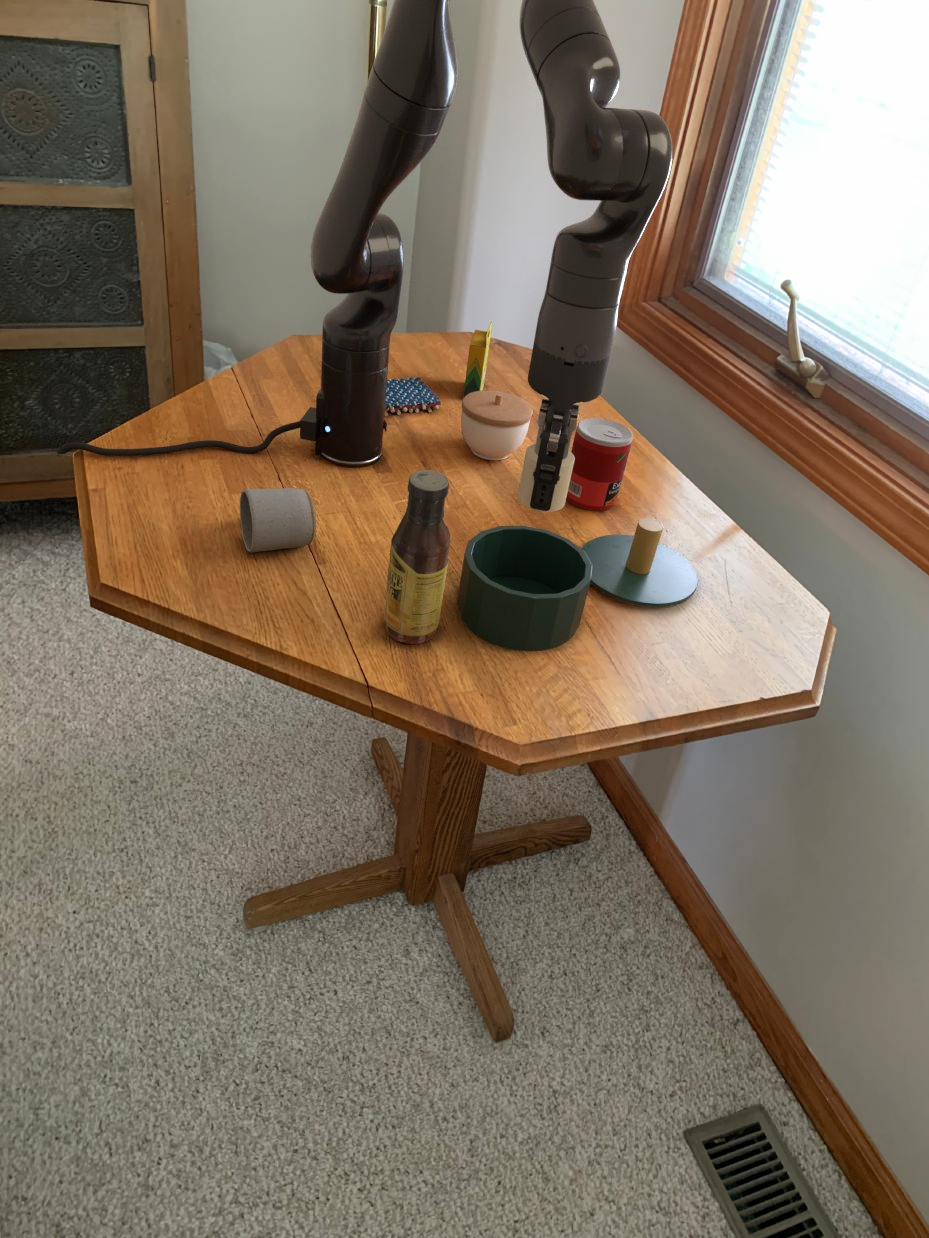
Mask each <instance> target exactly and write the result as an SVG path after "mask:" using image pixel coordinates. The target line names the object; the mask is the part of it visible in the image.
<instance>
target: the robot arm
mask: <svg viewBox="0 0 929 1238" xmlns="http://www.w3.org/2000/svg"><path fill="white" fill-rule="evenodd" d="M601 17H602V16H601V15H600V13H599V11H598V8H597V5H596V3H595V1H594V0H521V5H520V11H519V34H520V40H521V44H522V49H523V52H524V55H525V58H526V60H527V62H528V65H529V68H530V71H531V73H532V76H533V78H534V81H535V83H536V85H537V89H538V90H539V93H540V95H541V98H542V105H543V116H544V117H543V118H544V125H545V126H544V127H545V136H546V137H545V138H546V156H547V158H546V159H547V165H548V166H547V167H548V171H549V173H550V176H551V178H552V180H553V182H554V183H555V185H556V186H557V187H558V189H559V190H560V191H561V192H562V193H563V194H565V195H566V196H567V197H569V198H571V199H573V200H578V201H591V202H592V201H593V202H594V201H600V202H599V203H598V205H597V207H596V209H595V210H594V212H593V214H592V215H591V216H589V217H588V218H585V219H583V220H582V221H578V222H575V223H572V224H570V225H566V226H565V227H563V228H562V229H560V231H559V232H558V233H557V235H556V237H555V240H554V243H553V247H552V251H551V258H550V259H551V260H550V265H549V270H548V275H547V281H546V287H545V291H544V295H543V300H542V303H541V305H540V308H539V312H538V317H537V322H536V328H535V333H534V339H533V343H532V344H533V345H532V350H531V351H532V352H531V356H530V362H529V368H528V374H527V382H528V385H529V387H530V388H531V389H532V390H533V391H534V392H535V393H537V394H539V395H541V396H544V397H542V398H541V403H540V407H539V411H538V415H537V416H538V417H537V425H538V429H537V434H536V440H535V443H534V444H535V450H534V451H535V453H536V454H537V455H538V459H537V464H536V469H534V472H533V476H534V486H533V491H532V496H531V501H530V507H531V508H533V509H537V510H542V511H548V510H550V508H551V503H552V498H553V494H554V489H555V484H557V482H558V481H559V480H560V468H561V464H562V460H563V459H566V458H567V456H568V451H570V446H571V441H572V436H573V433H574V432H576V428H577V426H578V420H579V411H580V406H581V404H578V403H588V402H592V401H594V400H596V399H597V398H599V397H600V396H601V394H602V392H603V388H604V383H605V380H606V375H607V370H608V366H609V362H610V358H611V353H612V349H613V345H614V340H615V335H616V331H617V327H618V326H617V325H618V316H619V307H620V302H621V297H622V294H623V290H624V285H625V280H626V276H627V272H628V271H627V270H628V265H629V261H630V259H631V257H632V255H633V252H634V251H635V249H636V246H637V245H638V244H639V241H640V239H641V237H642V235H643V233H644V231H645V229H646V226H647V224H648V223H649V221H650V219H651V217H652V215H653V213H654V211H655V209H656V207H657V205H658V203H659V200H660V199H661V197H662V195H663V192H664V190H665V188H666V185H667V182H668V179H669V176H670V173H671V168H672V164H673V163H672V162H673V140H672V135H671V132H670V128H669V126H668V124H667V122H666V121H665V120H664V118H663V117H662V116H661V115H659V114H658V113H657V112H653V111H651V110H646V109H633V108H632V109H631V108H617V107H607V106H608V105H609V104H610V103H611V102H612V100H614V97H615V96H616V95H617V93H618V90H619V88H620V83H621V67H620V63H619V60H618V56H617V53H616V51H615V48H614V46H613V43H612V41H611V39H610V36H609V34H608V32H607V29H606V27H605V25H604V23H603V20H602V18H601ZM453 24H454V23H453V18H452V11H451V0H393V2H392V5H391V9H390V12H389V16H388V19H387V21H386V25H385V28H384V32H383V35H382V37H381V40H380V43H379V45H378V49H377V52H376V55H375V57H374V59H373V60H374V61H373V63H372V66H371V70H370V72H369V75H368V78H367V79H368V80H367V83H366V86H365V89H364V91H363V92H364V93H363V96H362V100H361V104H360V108H359V111H358V115H357V119H356V122H355V124H354V128H353V130H352V133H351V137H350V140H349V142H348V145H347V148H346V151H345V154H344V157H343V159H342V162H341V164H340V169H339V171H338V173H337V175H336V178H335V181H334V183H333V185H332V187H331V190H330V191H329V194H328V197H327V199H326V201H325V203H324V207H323V208H322V210H321V212H320V215H319V217H318V219H317V223H316V225H315V229H314V231H313V234H312V239H311V244H310V245H311V246H310V264H311V265H310V266H311V270H312V273H313V276H314V278H315V280H316V282H317V284H318V285H319V286H320V287H321V288H322V289H323V290H325V291H326V292H328V293H331V294H336V295H337V294H338V295H346V296H345V298H344V299H343V300H341V302H340V303H339V304H337V305H336V306H334V307H333V308H331V309H330V310H329V311H327V313H326V314H325V315H324V317H323V320H322V331H321V332H322V334H321V335H322V337H321V375H320V376H321V377H320V389H319V390H318V391H317V393H316V396H315V397H316V399H315V407H312V406H309V408H308V409H307V411H306V412H305V413H304V415H302V417H301V418H300V419H299V420H298V421H294V422H290V423H286V424H284V425H281V426H279V427H276V428H274V429H273V430H271V431H270V432H269V433H268V434H267V436H266V437H265V439H264V440H263V441H262V442H261V443H260V444H258V445H255V446H244V445H238V444H236V443H235V444H234V443H231V442H226V441H222V440H216V439H215V440H214V439H212V440H211V439H210V440H207V439H206V440H196V441H190V442H183V443H179V444H173V445H166V446H165V445H164V446H156V447H142V448H140V447H139V448H107V447H99V446H96V445H92V444H90V443H86V442H81V441H72V442H71V441H70V442H67V443H66V444H65V443H64V444H63V445H62V446H60V447H59V448H58V450H57V451H56V454H57V455H65V454H67V453H69V452H70V451H72V450H80V451H83V452H84V451H85V452H88V453H91V454H95V455H99V456H105V457H141V456H155V455H166V454H173V453H179V452H185V451H189V450H190V451H191V450H195V449H204V448H217V449H224V450H228V451H230V452H231V451H232V452H236V453H241V454H258V453H261V452H263V451H265V450H266V449H268V448H269V446H270V445H271V444H272V442H273V440H275V438H276V437H278V436H280V435H282V434H285V433H286V432H289V431H293V430H296V429H299V439H300V440H304V441H308V442H309V441H310V442H314V455H315V456H319V457H322V458H323V459H324V460H325V461H328V462H329V463H332V464H336V465H339V466H343V467H352V468H353V467H354V468H355V467H357V468H358V467H366V466H370V465H372V464H375V463H377V462H378V461H380V460H381V458H382V457H383V444H384V443H383V442H384V439H383V438H384V432H387V429H388V422H387V420H385V401H386V387H387V379H388V373H389V359H390V345H391V344H390V343H391V336H392V335H391V334H392V333H393V330H394V328H395V326H396V323H397V320H398V316H399V307H400V306H399V305H400V299H401V292H402V284H403V276H404V268H405V266H404V265H405V250H404V241H403V238H402V234H401V231H400V229H399V227H398V225H397V223H396V222H395V221H394V220H393V219H392V218H391V216H389V215H387V214H385V213H382V212H380V211H381V208H382V207H383V205H384V204H385V203H386V201H387V199H388V198H389V197H390V196H391V195H392V194H393V193H394V191H395V190H396V189H397V188H398V187H399V186H400V185H401V184H402V183H403V182H404V181H405V180H406V179H407V177H409V176H410V175H411V173H412V172H413V171H414V170H415V169H416V168H417V167H418V166H419V165H420V164H421V162H422V161H424V159H425V158H426V156H427V155H428V154H429V152H430V151H431V150H432V149H433V147H434V145H435V143H436V142H437V140H438V138H439V135H440V134H441V131H442V129H443V126H444V124H445V122H446V119H447V116H448V113H449V111H450V108H451V106H452V103H453V101H454V99H455V95H456V92H457V89H458V85H459V58H458V50H457V43H456V37H455V31H454V25H453ZM547 445H548V447H547ZM557 445H558V447H557ZM543 464H545V465H550V466H554V467H555V469H552V468H547V467H542V466H541V465H543ZM533 509H532V510H533Z"/></svg>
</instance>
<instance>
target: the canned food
mask: <svg viewBox="0 0 929 1238" xmlns="http://www.w3.org/2000/svg"><path fill="white" fill-rule="evenodd" d="M633 438H634V433H633V432H632V431H631V429H630V428H628V426H626V425H624V424H622V423H620V422H617V421H615V420H612V419H607V418H602V417H587V418H583V419H581V420H579V422H577V425H576V429H575V433H574V436H573V442H572V446H571V450H570V452H571V453H572V454H573V455H574V457H575V460H574V465H573V469H572V474H571V478H570V483H569V487H568V492H567V496H566V500H567V501H568V502H569V503H571V504H572V505H573V506H575V507H578V508H581V509H583V510H587V511H594V512H596V511H597V512H600V511H605V510H609V509H611V508H612V507H613V506H614V505H615V504H616V502H617V500H618V496H619V494H620V489H621V486H622V483H623V478H624V475H625V471H626V467H627V463H628V459H629V455H630V453H631V448H632V443H633Z"/></svg>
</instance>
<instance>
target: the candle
mask: <svg viewBox="0 0 929 1238" xmlns="http://www.w3.org/2000/svg"><path fill="white" fill-rule="evenodd" d="M535 444H536V443H533V444H531V445H529V446H528V447H527V448H526V449H525V454H524V459H523V460H524V461H523V464H522V470H521V476H520V482H519V487H518V492H517V499H518V501H519V502H520V504H521V505H523V506H524V507H526V508H528V509H530V510H533V511H536V512H542V513H555V512H558V511H560V510H562V509H563V508H564V507H565V505H566V500H567V499H566V496H567V492H568V487H569V483H570V478H571V474H572V469H573V465H574V460H575V457H574V455H573V454H572V453H571V450H569V451H568V456H567V458H566V459H563V460H562V464H561V468H560V480H559V481H558V482H557V484H555V489H554V494H553V498H552V503H551V508H550V510H548V511H542V510H537V509H533V508H531V507H530V501H531V496H532V491H533V486H534V476H533V472H534V469H536V464H537V459H538V455H537V454H536V453H535V451H534V450H535ZM547 447H548V445H547ZM557 447H558V445H557ZM541 466H542V467H547V468H552V469H555V467H554V466H550V465H545V464H543V465H541Z"/></svg>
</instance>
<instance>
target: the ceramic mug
mask: <svg viewBox="0 0 929 1238" xmlns="http://www.w3.org/2000/svg"><path fill="white" fill-rule="evenodd" d="M239 516H240V517H239V518H240V519H239V520H240V527H241V529H240V530H241V536H242V539H243V542H244V546H245V549H246V551H247V552H248V553H260V552H267V551H269V552H270V551H275V550H283V549H293V548H301V547H304V546H307V545H311V543H312V542H313V541H314V540H315V537H316V533H317V513H316V507H315V502H314V499H313V497H312V495H311V494H310V492H309V491H307V490H306V489H302V488H297V487H284V488H283V487H282V488H244V489H243V490H242V491H241V493H240V498H239Z"/></svg>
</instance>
